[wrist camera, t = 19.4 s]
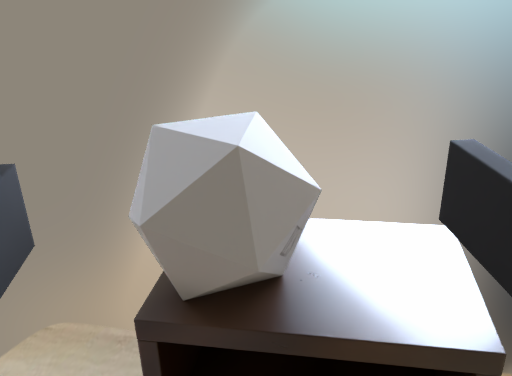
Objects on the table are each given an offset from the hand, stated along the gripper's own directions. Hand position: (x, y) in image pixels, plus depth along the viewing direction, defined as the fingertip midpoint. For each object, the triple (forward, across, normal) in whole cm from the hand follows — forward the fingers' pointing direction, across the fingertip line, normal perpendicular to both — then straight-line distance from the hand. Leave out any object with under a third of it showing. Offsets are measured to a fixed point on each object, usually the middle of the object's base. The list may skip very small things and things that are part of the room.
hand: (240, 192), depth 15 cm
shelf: (+8, +4, -22) cm, 24 cm away
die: (+8, -1, -8) cm, 12 cm away
